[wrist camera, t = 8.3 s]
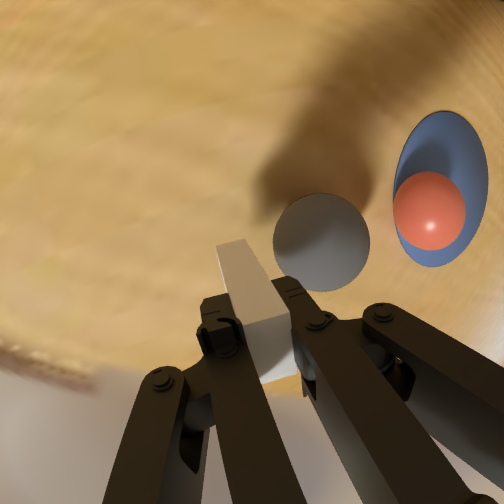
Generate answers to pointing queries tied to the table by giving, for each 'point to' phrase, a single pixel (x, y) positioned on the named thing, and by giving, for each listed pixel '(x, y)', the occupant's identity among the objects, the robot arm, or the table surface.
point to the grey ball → (321, 242)
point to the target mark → (447, 175)
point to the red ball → (429, 210)
